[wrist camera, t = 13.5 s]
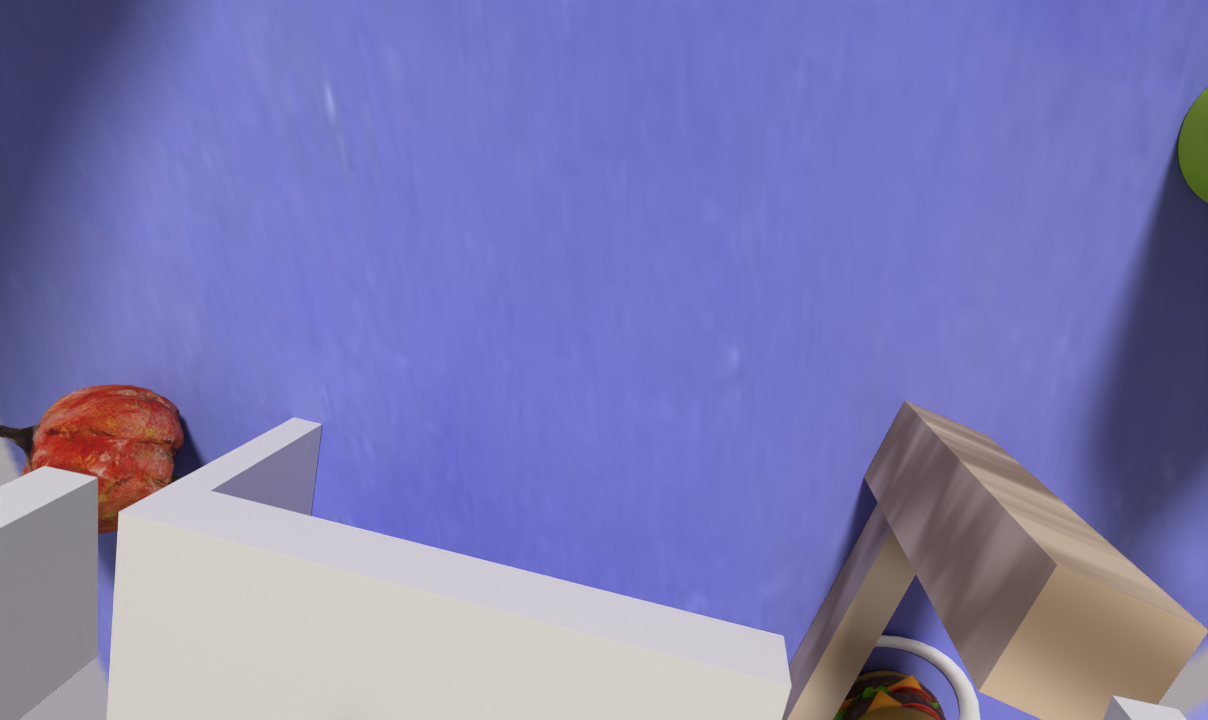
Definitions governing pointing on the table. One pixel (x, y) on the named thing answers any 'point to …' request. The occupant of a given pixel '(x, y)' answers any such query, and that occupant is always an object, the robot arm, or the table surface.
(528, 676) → the shelf
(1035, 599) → the block
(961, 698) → the hamburger
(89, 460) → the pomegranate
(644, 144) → the table surface
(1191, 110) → the soap dispenser
